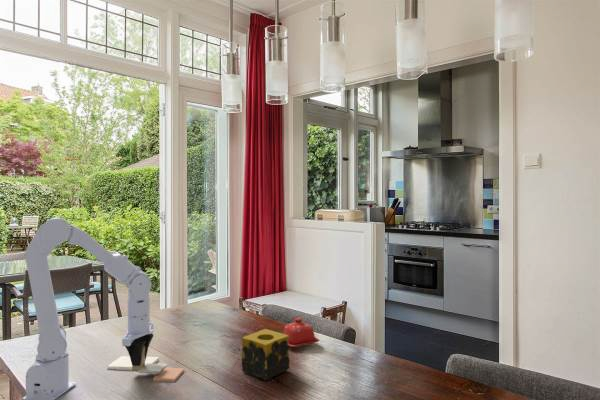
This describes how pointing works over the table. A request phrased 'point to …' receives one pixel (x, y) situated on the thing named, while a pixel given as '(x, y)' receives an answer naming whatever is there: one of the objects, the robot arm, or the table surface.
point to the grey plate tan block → (148, 366)
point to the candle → (265, 354)
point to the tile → (169, 374)
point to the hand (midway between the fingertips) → (138, 363)
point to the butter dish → (299, 333)
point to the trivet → (129, 363)
